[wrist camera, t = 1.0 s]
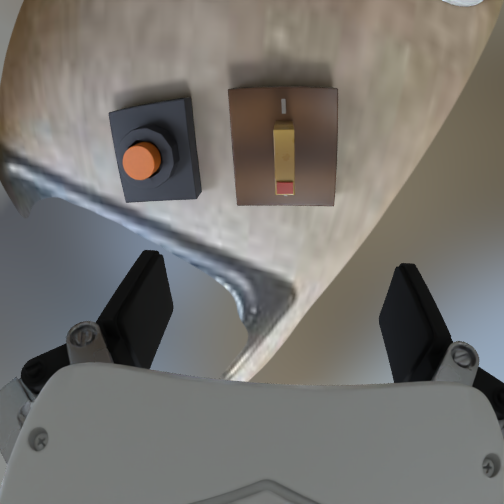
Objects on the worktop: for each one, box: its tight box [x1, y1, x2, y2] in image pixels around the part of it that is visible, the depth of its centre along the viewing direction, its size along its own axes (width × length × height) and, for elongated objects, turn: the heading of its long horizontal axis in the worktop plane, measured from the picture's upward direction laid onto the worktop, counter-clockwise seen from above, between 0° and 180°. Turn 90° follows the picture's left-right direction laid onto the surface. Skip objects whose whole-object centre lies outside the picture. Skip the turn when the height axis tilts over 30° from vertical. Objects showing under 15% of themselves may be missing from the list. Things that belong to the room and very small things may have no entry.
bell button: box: [123, 142, 161, 180], centre depth 27 cm, size 4×4×2 cm
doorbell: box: [109, 97, 202, 203], centre depth 29 cm, size 11×9×4 cm
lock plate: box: [228, 86, 338, 206], centre depth 28 cm, size 12×10×3 cm
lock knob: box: [273, 121, 295, 195], centre depth 25 cm, size 6×2×5 cm, turn 3°
